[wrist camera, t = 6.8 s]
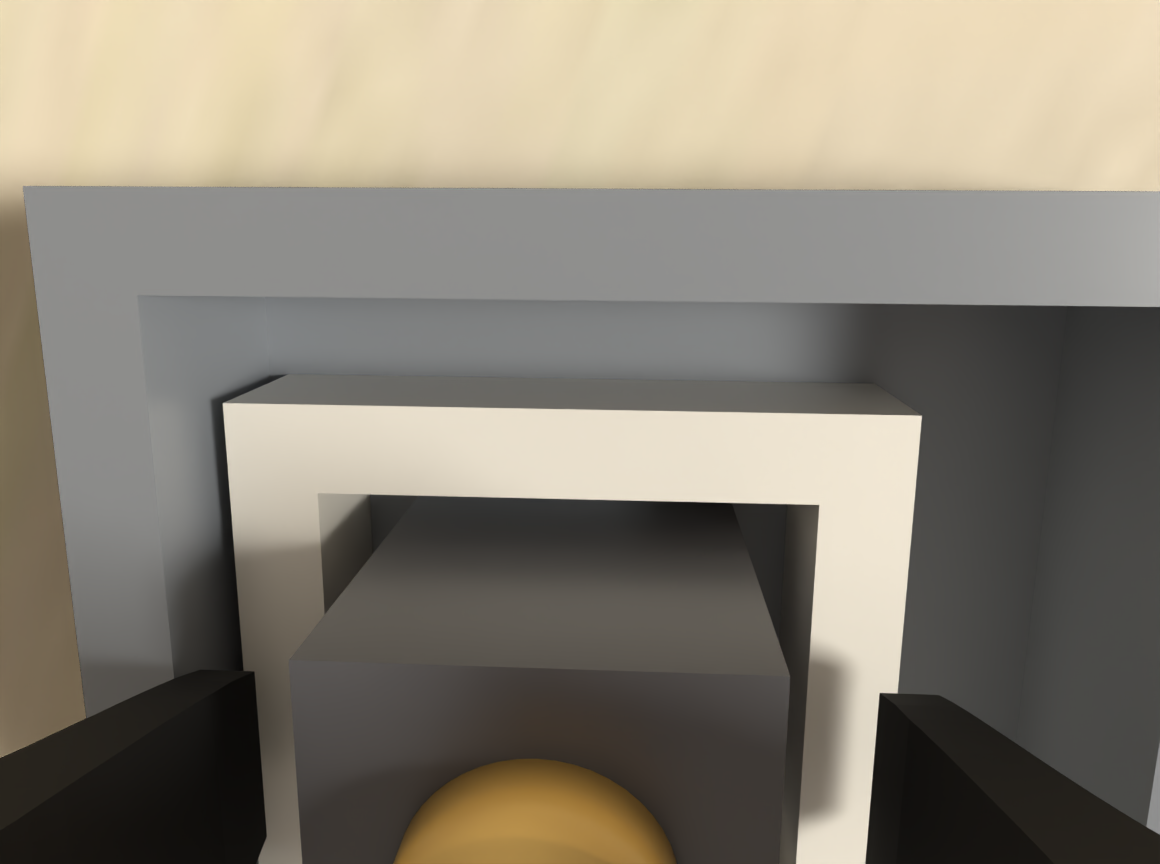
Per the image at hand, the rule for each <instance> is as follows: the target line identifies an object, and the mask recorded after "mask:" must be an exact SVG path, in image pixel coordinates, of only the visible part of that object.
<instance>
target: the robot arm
mask: <svg viewBox="0 0 1160 864" xmlns="http://www.w3.org/2000/svg"><path fill="white" fill-rule="evenodd" d="M266 838H267V830H266V817H265V804H264V791H263V777H262V764H261V751H260V737H259V724H258V711H257V698H256V684H255V671H228V670H198V671H195V672H192V673H188V674H185V675H182V676H180V677H177V678H175V679H172V680H170V681H167V682H165V683H162V684H160V685H158V686H156V687H153V688H151V689H149V690H146V691H144V692H142V693H140V694H138V695H135V696H133V697H131V698H129V699H127V700H125V701H122V702H120V703H118V704H116V705H114V706H112V707H110V708H108V709H105V710H103V711H101V712H99V713H97V714H95V715H93V716H91V717H88V718H86V719H84V720H82V721H80V722H78V723H76V724H74V725H71V726H69V727H67V728H65V729H63V730H61V731H59V732H57V733H54V734H52V735H50V736H48V737H46V738H44V739H42V740H40V741H37V742H35V743H33V744H31V745H29V746H27V747H25V748H22V749H20V750H18V751H16V752H13V753H11V754H9V755H6V756H4V757H2V758H0V864H256V863H257V860H258V858H259V855H260V853H261V850H262V848H263V845H264V843H265V840H266ZM865 864H1160V835H1159V834H1158V833H1156V832H1154V831H1153V830H1151V829H1149V828H1147V827H1146V826H1144V825H1142V824H1141V823H1139V822H1137V821H1136V820H1134V819H1132V818H1131V817H1129V816H1127V815H1126V814H1124V813H1123V812H1121V811H1119V810H1118V809H1116V808H1115V807H1113V806H1111V805H1110V804H1108V803H1107V802H1105V801H1103V800H1102V799H1100V798H1099V797H1097V796H1095V795H1094V794H1092V793H1091V792H1089V791H1088V790H1086V789H1085V788H1083V787H1081V786H1080V785H1078V784H1077V783H1075V782H1074V781H1072V780H1071V779H1069V778H1068V777H1066V776H1065V775H1063V774H1061V773H1060V772H1058V771H1057V770H1055V769H1054V768H1052V767H1051V766H1049V765H1048V764H1046V763H1045V762H1043V761H1042V760H1040V759H1039V758H1037V757H1036V756H1034V755H1033V754H1031V753H1030V752H1028V751H1027V750H1025V749H1024V748H1022V747H1021V746H1019V745H1018V744H1016V743H1015V742H1013V741H1012V740H1010V739H1009V738H1007V737H1006V736H1004V735H1003V734H1001V733H1000V732H998V731H997V730H995V729H994V728H992V727H991V726H989V725H988V724H986V723H985V722H983V721H982V720H980V719H979V718H977V717H976V716H974V715H973V714H971V713H969V712H968V711H966V710H965V709H963V708H961V707H960V706H958V705H956V704H955V703H953V702H951V701H949V700H947V699H946V698H944V697H942V696H940V695H927V694H898V693H880V694H879V706H878V718H877V730H876V741H875V753H874V765H873V777H872V789H871V801H870V813H869V825H868V837H867V849H866V861H865Z"/></svg>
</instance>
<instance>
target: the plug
mask: <svg viewBox="0 0 1160 864" xmlns="http://www.w3.org/2000/svg"><path fill="white" fill-rule="evenodd" d="M289 674H290V688H291V703H292V718H293V733H294V748H295V763H296V777H297V792H298V807H299V822H300V837H301V852H302V864H779V859H780V843H781V826H782V809H783V792H784V776H785V759H786V742H787V725H788V708H789V692H790V674H789V671H788V668H787V665H786V662H785V659H784V656H783V653H782V650H781V647H780V644H779V641H778V638H777V635H776V632H775V629H774V626H773V624H772V621H771V618H770V615H769V612H768V609H767V606H766V603H765V600H764V597H763V594H762V591H761V588H760V585H759V582H758V579H757V576H756V573H755V570H754V568H753V565H752V562H751V559H750V556H749V553H748V550H747V547H746V544H745V541H744V538H743V535H742V532H741V529H740V526H739V523H738V520H737V517H736V514H735V511H734V509H733V506H732V503H716V502H673V501H630V500H587V499H544V498H501V497H458V496H418V498H417V499H416V500H415V501H414V503H413V504H412V505H411V506H410V508H409V509H408V510H407V511H406V513H405V514H404V515H403V517H402V518H401V519H400V520H399V522H398V523H397V524H396V525H395V527H394V528H393V529H392V530H391V532H390V533H389V534H388V535H387V537H386V538H385V539H384V540H383V542H382V543H381V544H380V545H379V547H378V548H377V549H376V551H375V552H374V553H373V554H372V556H371V557H370V558H369V559H368V561H367V562H366V563H365V564H364V566H363V567H362V568H361V569H360V571H359V572H358V573H357V574H356V576H355V577H354V578H353V579H352V581H351V582H350V583H349V585H348V586H347V587H346V588H345V590H344V591H343V592H342V593H341V595H340V596H339V597H338V598H337V600H336V601H335V602H334V603H333V605H332V606H331V607H330V608H329V610H328V611H327V612H326V614H325V615H324V616H323V617H322V619H321V620H320V621H319V622H318V624H317V625H316V626H315V627H314V629H313V630H312V631H311V632H310V634H309V635H308V636H307V637H306V639H305V640H304V641H303V642H302V644H301V645H300V646H299V648H298V649H297V650H296V651H295V653H294V654H293V655H292V656H291V658H290V659H289Z"/></svg>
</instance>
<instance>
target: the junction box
mask: <svg viewBox="0 0 1160 864" xmlns="http://www.w3.org/2000/svg"><path fill="white" fill-rule="evenodd" d="M23 192H24V201H25V209H26V217H27V226H28V234H29V243H30V251H31V259H32V268H33V276H34V284H35V293H36V301H37V310H38V318H39V326H40V335H41V343H42V351H43V360H44V368H45V377H46V385H47V393H48V402H49V410H50V418H51V427H52V435H53V444H54V452H55V460H56V469H57V477H58V485H59V494H60V502H61V511H62V519H63V527H64V536H65V544H66V552H67V561H68V569H69V578H70V586H71V594H72V603H73V611H74V620H75V628H76V636H77V645H78V653H79V661H80V670H81V678H82V687H83V695H84V703H85V712H86V718H88V717H91V716H93V715H95V714H97V713H99V712H101V711H103V710H105V709H108V708H110V707H112V706H114V705H116V704H118V703H120V702H122V701H125V700H127V699H129V698H131V697H133V696H135V695H138V694H140V693H142V692H144V691H146V690H149V689H151V688H153V687H156V686H158V685H160V684H162V683H165V682H167V681H170V680H172V679H175V678H177V677H180V676H182V675H185V674H188V673H192V672H195V671H198V670H228V671H255V684H256V698H257V711H258V724H259V737H260V751H261V764H262V777H263V791H264V804H265V817H266V830H267V838H266V840H265V843H264V845H263V848H262V850H261V853H260V855H259V858H258V860H257V863H256V864H302V852H301V837H300V822H299V807H298V792H297V777H296V763H295V748H294V733H293V718H292V703H291V688H290V674H289V659H290V658H291V656H292V655H293V654H294V653H295V651H296V650H297V649H298V648H299V646H300V645H301V644H302V642H303V641H304V640H305V639H306V637H307V636H308V635H309V634H310V632H311V631H312V630H313V629H314V627H315V626H316V625H317V624H318V622H319V621H320V620H321V619H322V617H323V616H324V615H325V614H326V612H327V611H328V610H329V608H330V607H331V606H332V605H333V603H334V602H335V601H336V600H337V598H338V597H339V596H340V595H341V593H342V592H343V591H344V590H345V588H346V587H347V586H348V585H349V583H350V582H351V581H352V579H353V578H354V577H355V576H356V574H357V573H358V572H359V571H360V569H361V568H362V567H363V566H364V564H365V563H366V562H367V561H368V559H369V558H370V557H371V556H372V554H373V553H374V552H375V551H376V549H377V548H378V547H379V545H380V544H381V543H382V542H383V540H384V539H385V538H386V537H387V535H388V534H389V533H390V532H391V530H392V529H393V528H394V527H395V525H396V524H397V523H398V522H399V520H400V519H401V518H402V517H403V515H404V514H405V513H406V511H407V510H408V509H409V508H410V506H411V505H412V504H413V503H414V501H415V500H416V499H417V498H418V496H458V497H501V498H544V499H587V500H630V501H673V502H716V503H732V506H733V509H734V511H735V514H736V517H737V520H738V523H739V526H740V529H741V532H742V535H743V538H744V541H745V544H746V547H747V550H748V553H749V556H750V559H751V562H752V565H753V568H754V570H755V573H756V576H757V579H758V582H759V585H760V588H761V591H762V594H763V597H764V600H765V603H766V606H767V609H768V612H769V615H770V618H771V621H772V624H773V626H774V629H775V632H776V635H777V638H778V641H779V644H780V647H781V650H782V653H783V656H784V659H785V662H786V665H787V668H788V671H789V674H790V692H789V708H788V725H787V742H786V759H785V776H784V792H783V809H782V826H781V843H780V859H779V864H865V861H866V849H867V837H868V825H869V813H870V801H871V789H872V777H873V765H874V753H875V741H876V730H877V718H878V706H879V694H880V693H898V694H927V695H940V696H942V697H944V698H946V699H947V700H949V701H951V702H953V703H955V704H956V705H958V706H960V707H961V708H963V709H965V710H966V711H968V712H969V713H971V714H973V715H974V716H976V717H977V718H979V719H980V720H982V721H983V722H985V723H986V724H988V725H989V726H991V727H992V728H994V729H995V730H997V731H998V732H1000V733H1001V734H1003V735H1004V736H1006V737H1007V738H1009V739H1010V740H1012V741H1013V742H1015V743H1016V744H1018V745H1019V746H1021V747H1022V748H1024V749H1025V750H1027V751H1028V752H1030V753H1031V754H1033V755H1034V756H1036V757H1037V758H1039V759H1040V760H1042V761H1043V762H1045V763H1046V764H1048V765H1049V766H1051V767H1052V768H1054V769H1055V770H1057V771H1058V772H1060V773H1061V774H1063V775H1065V776H1066V777H1068V778H1069V779H1071V780H1072V781H1074V782H1075V783H1077V784H1078V785H1080V786H1081V787H1083V788H1085V789H1086V790H1088V791H1089V792H1091V793H1092V794H1094V795H1095V796H1097V797H1099V798H1100V799H1102V800H1103V801H1105V802H1107V803H1108V804H1110V805H1111V806H1113V807H1115V808H1116V809H1118V810H1119V811H1121V812H1123V813H1124V814H1126V815H1127V816H1129V817H1131V818H1132V819H1134V820H1136V821H1137V822H1139V823H1141V824H1142V825H1144V826H1146V827H1147V828H1149V829H1151V830H1153V831H1154V832H1156V833H1158V834H1159V835H1160V192H1152V191H944V190H736V189H527V188H319V187H111V186H23Z"/></svg>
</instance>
